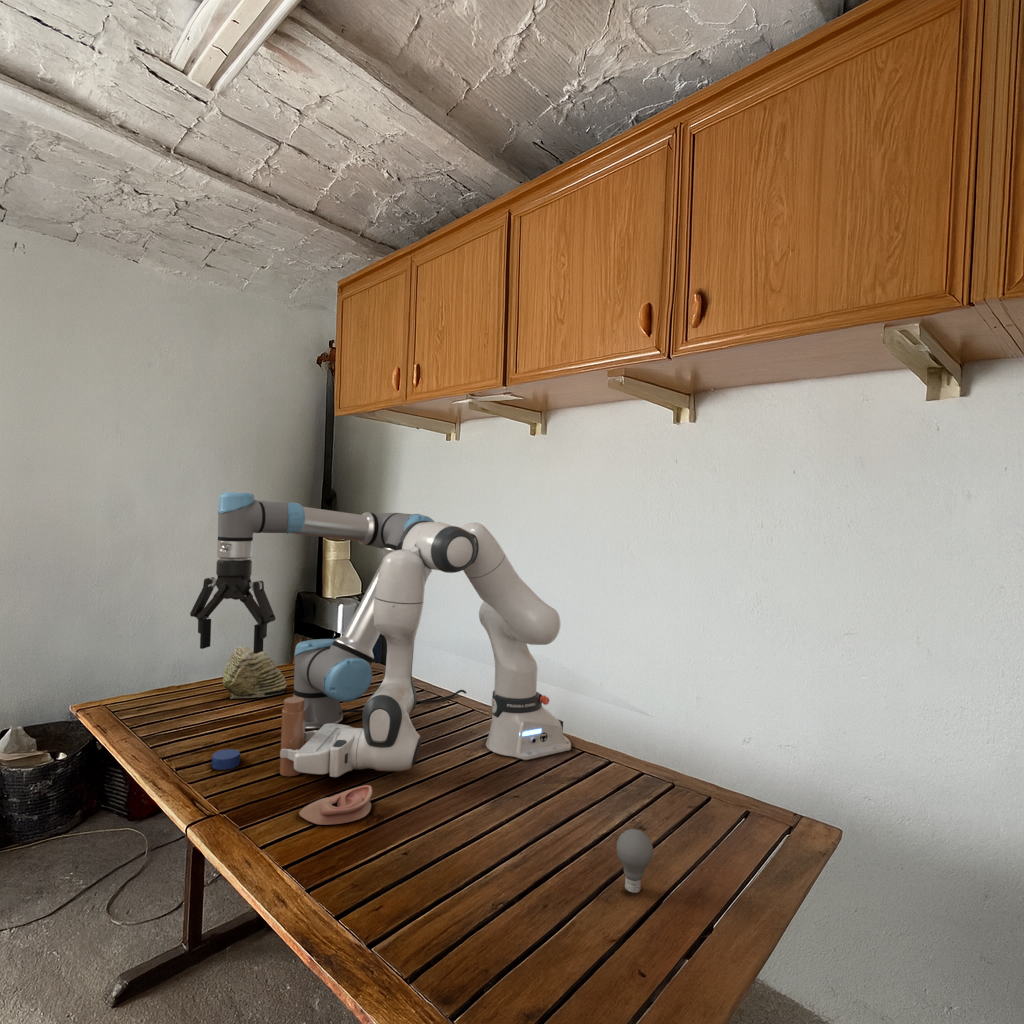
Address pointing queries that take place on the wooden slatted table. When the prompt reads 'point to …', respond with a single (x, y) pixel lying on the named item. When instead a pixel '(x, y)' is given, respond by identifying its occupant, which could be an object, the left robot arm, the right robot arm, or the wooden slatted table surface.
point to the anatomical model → (339, 807)
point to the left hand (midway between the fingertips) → (231, 650)
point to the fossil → (252, 675)
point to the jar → (292, 731)
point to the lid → (225, 759)
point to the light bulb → (634, 857)
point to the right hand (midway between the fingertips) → (289, 744)
